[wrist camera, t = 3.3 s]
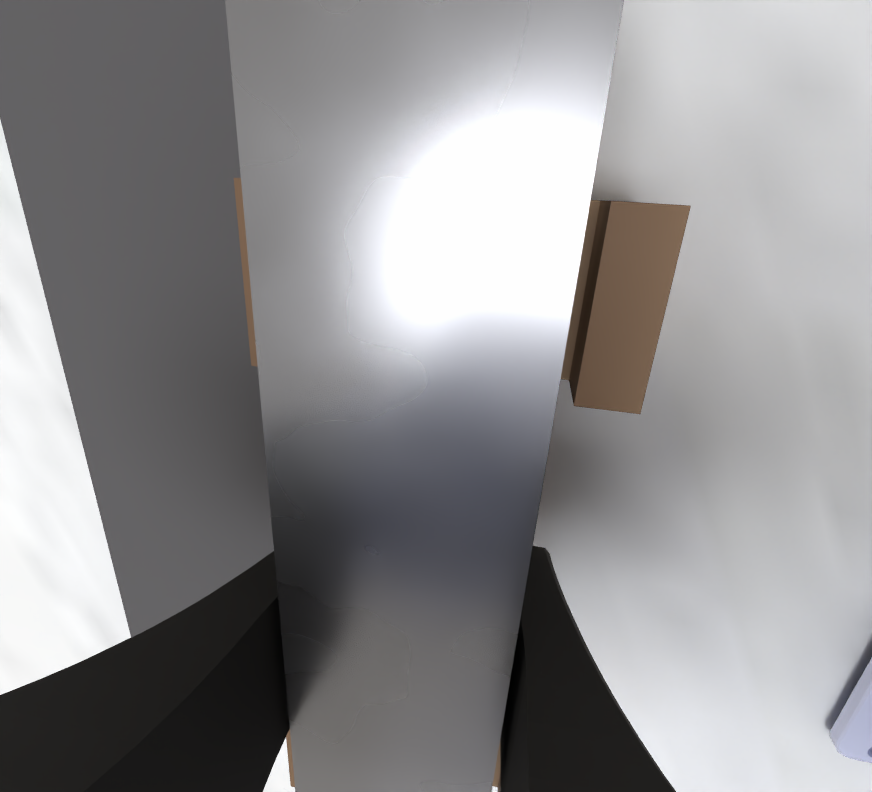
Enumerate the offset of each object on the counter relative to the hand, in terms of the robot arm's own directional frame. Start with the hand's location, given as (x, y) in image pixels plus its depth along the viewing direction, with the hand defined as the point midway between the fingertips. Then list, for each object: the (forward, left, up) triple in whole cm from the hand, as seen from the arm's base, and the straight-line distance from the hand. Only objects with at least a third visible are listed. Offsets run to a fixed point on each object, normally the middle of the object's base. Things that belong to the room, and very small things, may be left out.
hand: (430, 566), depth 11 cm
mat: (+8, 0, -3) cm, 8 cm away
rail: (0, 0, 0) cm, 0 cm away
